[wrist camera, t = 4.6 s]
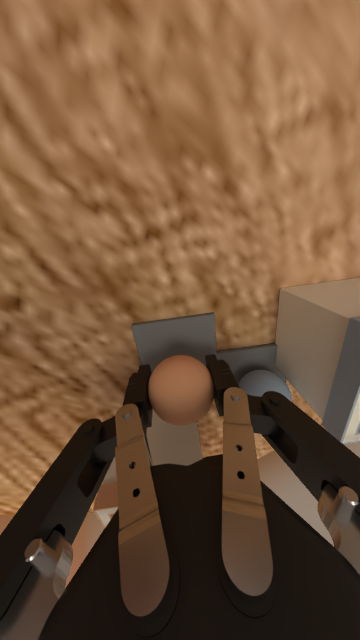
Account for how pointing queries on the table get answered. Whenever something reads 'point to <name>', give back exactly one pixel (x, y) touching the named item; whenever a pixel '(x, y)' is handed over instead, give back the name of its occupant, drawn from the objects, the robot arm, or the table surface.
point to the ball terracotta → (181, 390)
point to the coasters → (198, 345)
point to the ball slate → (263, 383)
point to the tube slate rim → (323, 351)
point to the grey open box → (164, 447)
